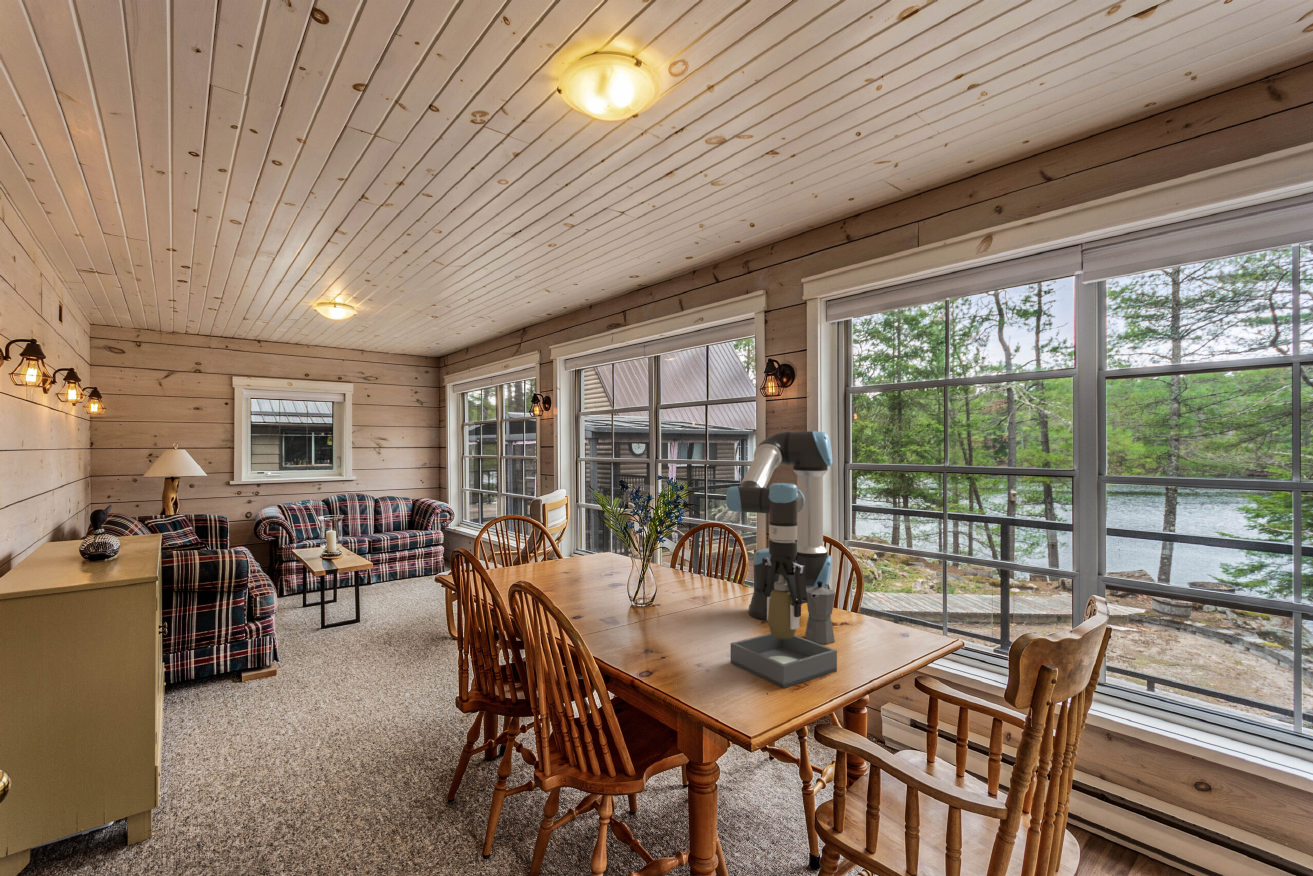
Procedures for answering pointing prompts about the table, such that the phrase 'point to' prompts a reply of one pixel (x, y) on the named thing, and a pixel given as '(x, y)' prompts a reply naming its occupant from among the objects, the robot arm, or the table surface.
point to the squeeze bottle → (780, 610)
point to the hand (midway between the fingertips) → (782, 624)
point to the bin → (783, 659)
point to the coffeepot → (820, 614)
